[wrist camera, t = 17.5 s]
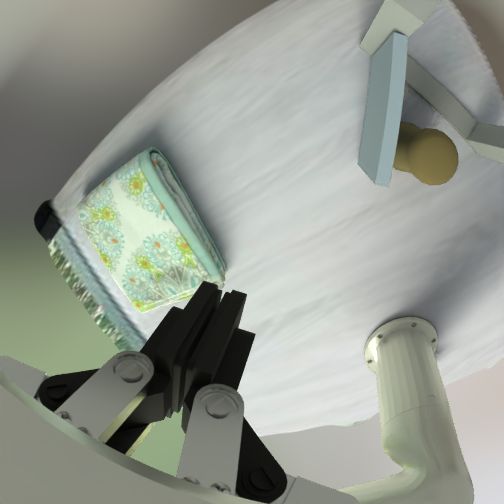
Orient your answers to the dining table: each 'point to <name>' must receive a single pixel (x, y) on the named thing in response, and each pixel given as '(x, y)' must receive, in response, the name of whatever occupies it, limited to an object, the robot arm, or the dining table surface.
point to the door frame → (406, 22)
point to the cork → (425, 154)
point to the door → (384, 109)
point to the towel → (150, 233)
